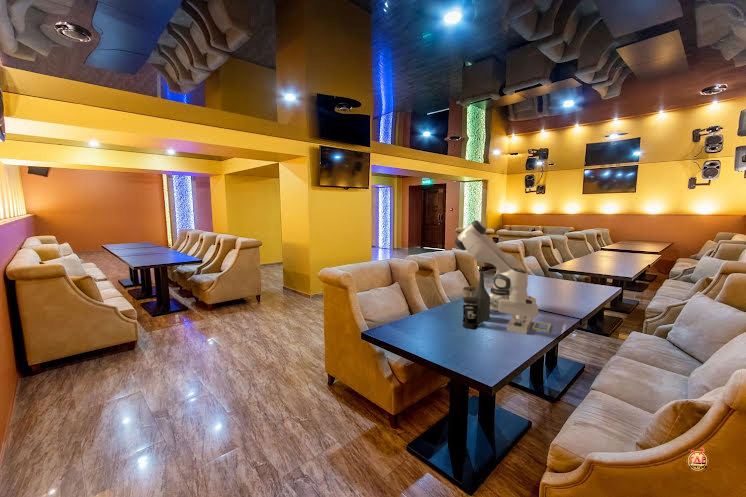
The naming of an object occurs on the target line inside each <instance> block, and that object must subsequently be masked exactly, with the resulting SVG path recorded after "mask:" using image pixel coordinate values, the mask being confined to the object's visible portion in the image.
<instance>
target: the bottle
mask: <svg viewBox="0 0 746 497" xmlns="http://www.w3.org/2000/svg"><path fill="white" fill-rule="evenodd" d="M478 279H479V280H478V286H477V287H478V289H477V290H476V292H475V293H474V295H473V297H476V298H478V299H479V300H478V303H477V304H472V305H476V306H478V307H479V309H481V324H483V323H484V322H488V321H489V320H490V319H491V318H490V316H491V310H490V296H489V293H488V291H487V289H486V288H485V280H484V279H485V277H484V273H483V272H479V278H478ZM485 289H486V290H485ZM472 309H473V307H472ZM471 314H473V311H472V313H471ZM478 323H479V310H478Z"/></svg>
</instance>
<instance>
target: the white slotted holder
mask: <svg viewBox="0 0 746 497" xmlns="http://www.w3.org/2000/svg"><path fill="white" fill-rule="evenodd" d="M515 317H516V316H515ZM520 323H521V325H520V326H517V325H515V322H514V318H513V317H511V318H510V319H509V321H508V323H507V324H506V332H511V333H516V334H522V335H527V334H528V333H529V330H530V329H531V328H532V326H533V325H532V324H534V320H533V317H526V316H525V323H523V322H520Z"/></svg>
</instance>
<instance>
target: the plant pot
mask: <svg viewBox="0 0 746 497" xmlns="http://www.w3.org/2000/svg"><path fill="white" fill-rule="evenodd" d="M467 288H474V290H472V292H470V290H468V289H467ZM477 289H478V286H474V285H473V286H472V285H471V286H469V285H468V286H464V287H462V290H461V291H462V295H463V297H470V295H471V297H473V295H474V293H475V292H476V290H477ZM485 290H486V291H487V289H486V288H485ZM464 305H467V303H464ZM471 305H472V304H471ZM466 308H468V309H470V307H466ZM471 309H472V307H471ZM468 314H470V311H468ZM471 314H472V311H471Z"/></svg>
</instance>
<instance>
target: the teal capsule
mask: <svg viewBox="0 0 746 497" xmlns="http://www.w3.org/2000/svg"><path fill="white" fill-rule="evenodd" d="M516 319H520V317H519V315H516ZM520 322H523V323H525V316H523V317H522V319H521V320H520Z"/></svg>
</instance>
